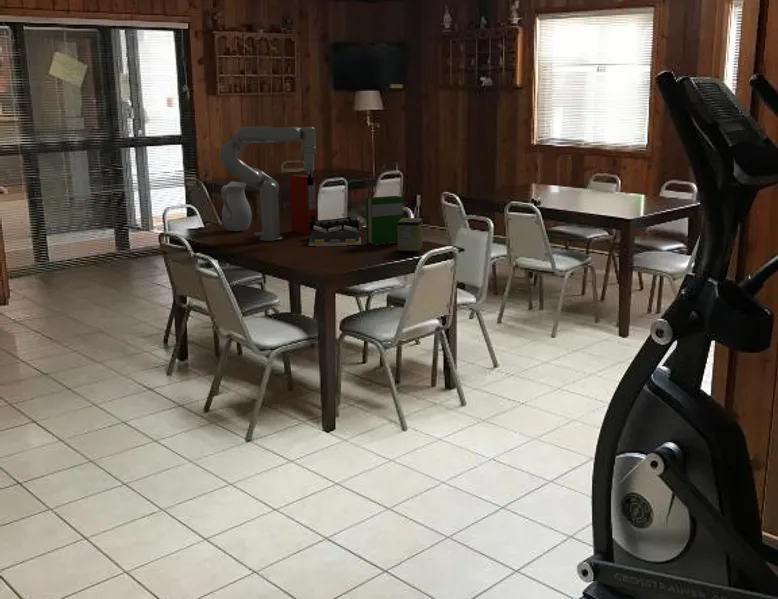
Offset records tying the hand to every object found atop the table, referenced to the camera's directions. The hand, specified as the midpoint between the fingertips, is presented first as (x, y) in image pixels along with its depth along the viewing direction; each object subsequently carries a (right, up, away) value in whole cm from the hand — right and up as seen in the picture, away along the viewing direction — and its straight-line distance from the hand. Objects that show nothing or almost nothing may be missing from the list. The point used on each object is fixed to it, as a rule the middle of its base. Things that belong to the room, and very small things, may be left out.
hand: (310, 185), depth 453 cm
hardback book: (+40, -32, -10) cm, 52 cm away
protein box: (+53, -37, -33) cm, 73 cm away
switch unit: (+14, -31, -7) cm, 35 cm away
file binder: (-6, -23, +29) cm, 38 cm away
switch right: (+22, -24, -8) cm, 33 cm away
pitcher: (-47, -22, +35) cm, 63 cm away
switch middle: (+14, -24, -8) cm, 29 cm away
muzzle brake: (+13, -27, +13) cm, 33 cm away
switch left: (+6, -24, -8) cm, 26 cm away
